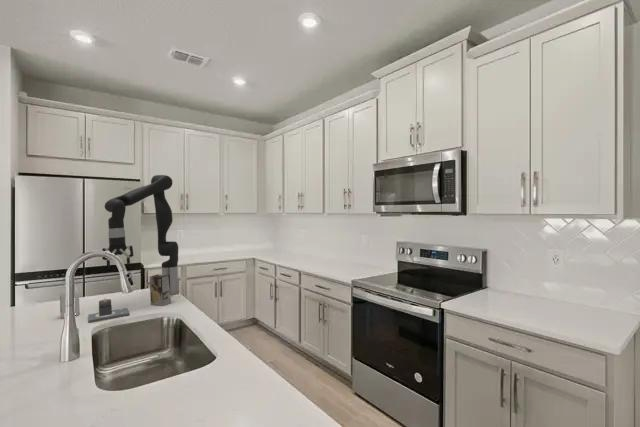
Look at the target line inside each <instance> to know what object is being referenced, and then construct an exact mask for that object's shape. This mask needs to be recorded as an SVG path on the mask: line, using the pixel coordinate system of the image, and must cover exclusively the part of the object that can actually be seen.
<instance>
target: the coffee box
mask: <svg viewBox="0 0 640 427" xmlns="http://www.w3.org/2000/svg"><path fill="white" fill-rule="evenodd" d="M149 290H150V291H149V293H150V294H149V296H150V305H151V306H162V307H163V306H166V305H168V304H170V303H172V302H171V299H172V298H171V297H172V295H170V275H162V274H154V275H152V276H149Z"/></svg>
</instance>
